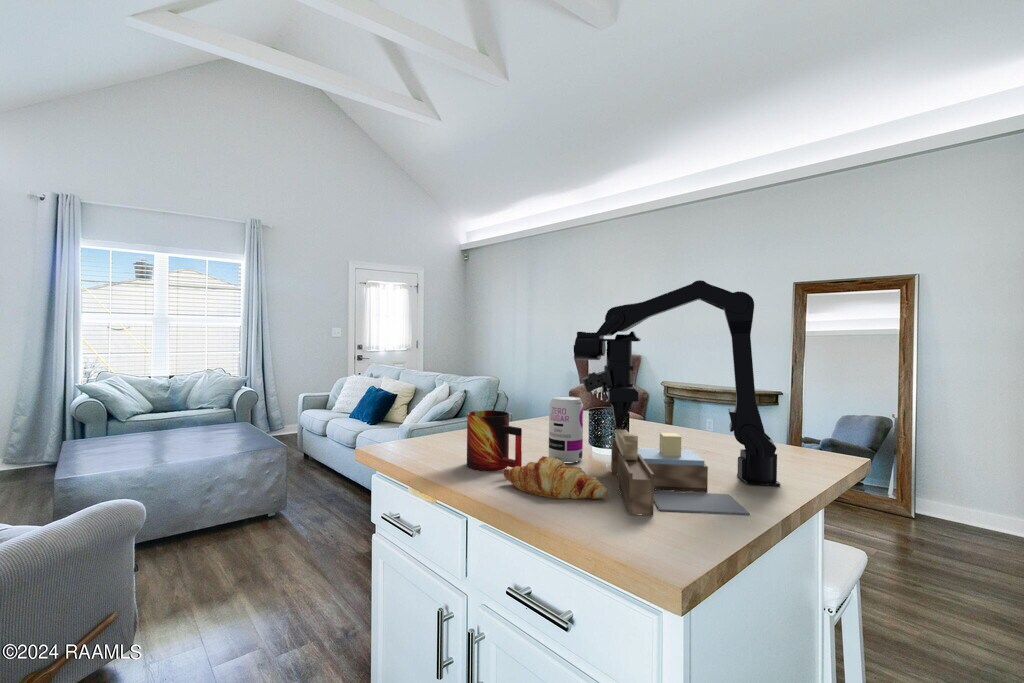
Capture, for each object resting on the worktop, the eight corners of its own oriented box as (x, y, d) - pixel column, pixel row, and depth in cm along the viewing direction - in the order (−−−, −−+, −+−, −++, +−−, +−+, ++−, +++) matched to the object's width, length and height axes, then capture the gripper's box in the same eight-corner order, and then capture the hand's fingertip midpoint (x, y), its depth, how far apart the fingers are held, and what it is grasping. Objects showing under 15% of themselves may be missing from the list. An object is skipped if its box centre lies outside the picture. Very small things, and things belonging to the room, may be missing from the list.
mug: (520, 474, 103) (521, 419, 103) (460, 469, 107) (461, 415, 107) (530, 463, 113) (531, 412, 113) (475, 458, 116) (475, 409, 116)
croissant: (610, 514, 90) (615, 472, 94) (599, 504, 82) (605, 458, 86) (508, 495, 99) (516, 457, 102) (489, 484, 91) (499, 443, 94)
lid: (691, 454, 103) (691, 431, 103) (704, 465, 94) (704, 440, 94) (620, 452, 104) (620, 429, 104) (626, 462, 95) (626, 437, 95)
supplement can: (581, 456, 120) (582, 396, 120) (583, 465, 112) (584, 400, 112) (548, 455, 121) (549, 395, 121) (548, 463, 113) (549, 399, 113)
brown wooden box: (689, 474, 105) (690, 442, 105) (733, 519, 79) (734, 477, 79) (611, 471, 107) (611, 439, 107) (628, 514, 81) (629, 473, 81)
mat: (728, 495, 91) (728, 494, 91) (749, 514, 81) (750, 513, 81) (648, 492, 93) (648, 490, 93) (659, 510, 83) (659, 509, 83)
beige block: (626, 443, 107) (626, 422, 107) (637, 460, 92) (637, 436, 92) (615, 442, 107) (615, 422, 107) (624, 459, 92) (625, 435, 92)
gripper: (582, 358, 122) (581, 419, 122) (586, 362, 104) (585, 434, 104) (626, 359, 121) (625, 421, 121) (639, 363, 103) (638, 436, 103)
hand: (618, 427), depth 112 cm, fingers closed
